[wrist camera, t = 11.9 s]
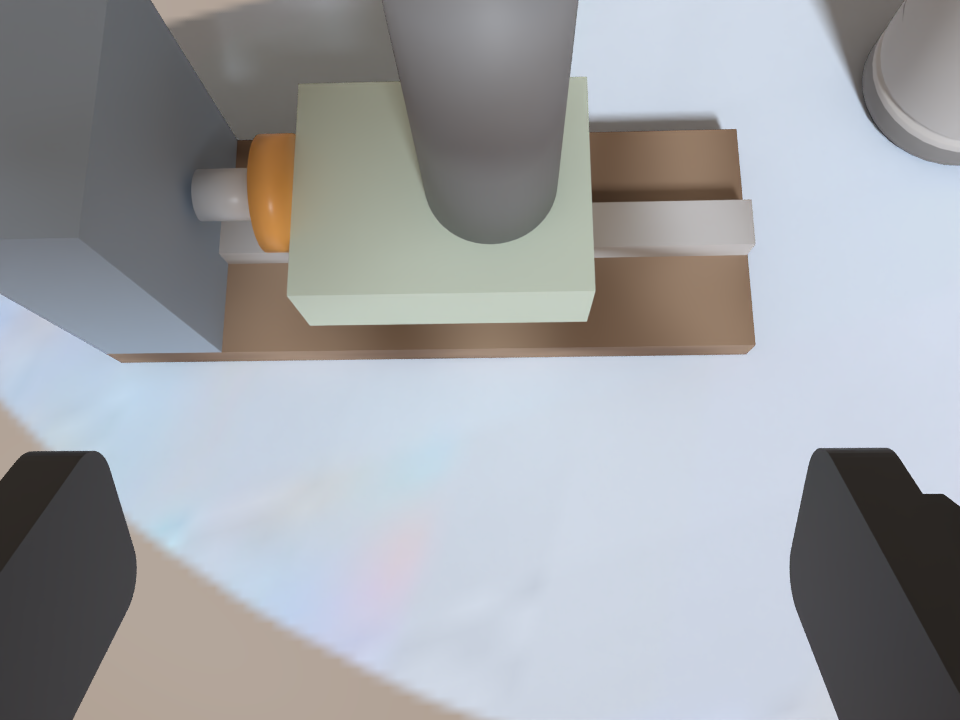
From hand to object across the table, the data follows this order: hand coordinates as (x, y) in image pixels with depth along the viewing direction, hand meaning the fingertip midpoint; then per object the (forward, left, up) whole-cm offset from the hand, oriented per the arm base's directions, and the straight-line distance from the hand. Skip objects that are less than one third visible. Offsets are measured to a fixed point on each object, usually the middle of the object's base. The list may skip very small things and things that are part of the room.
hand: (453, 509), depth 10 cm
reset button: (+7, -11, -16) cm, 21 cm away
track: (+2, -11, -19) cm, 22 cm away
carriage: (+1, -11, -17) cm, 20 cm away
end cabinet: (+11, -11, -18) cm, 24 cm away
